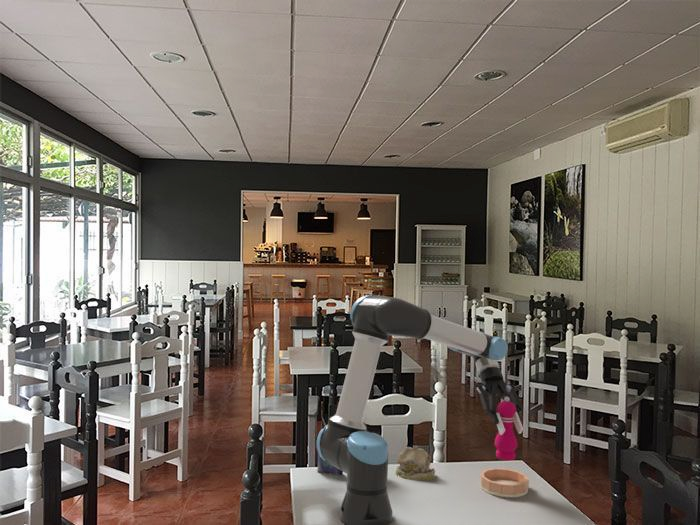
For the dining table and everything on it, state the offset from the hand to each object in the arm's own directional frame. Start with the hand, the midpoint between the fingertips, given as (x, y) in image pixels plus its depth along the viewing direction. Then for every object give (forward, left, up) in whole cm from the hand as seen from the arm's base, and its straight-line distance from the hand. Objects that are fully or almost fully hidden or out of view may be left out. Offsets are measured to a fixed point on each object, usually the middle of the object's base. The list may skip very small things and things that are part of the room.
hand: (511, 432), depth 195 cm
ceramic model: (-32, -5, -20) cm, 39 cm away
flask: (-56, -23, -20) cm, 64 cm away
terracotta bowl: (-3, +2, -20) cm, 20 cm away
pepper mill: (-3, +2, -10) cm, 10 cm away
